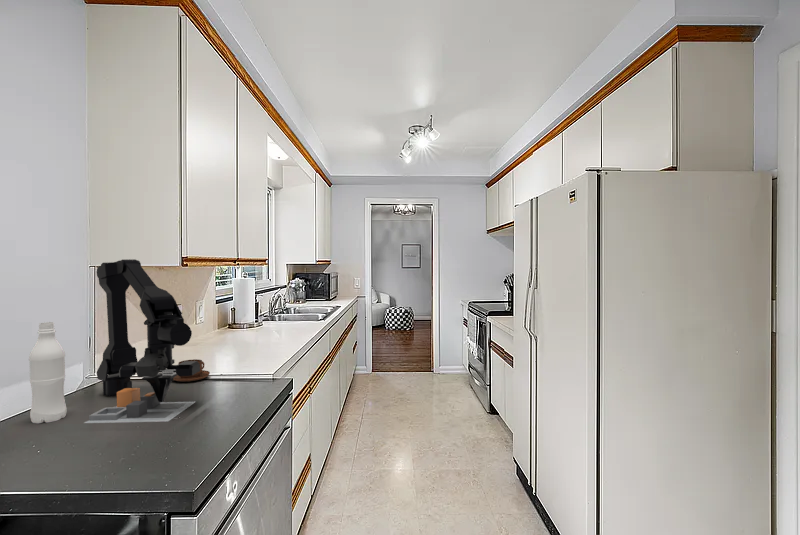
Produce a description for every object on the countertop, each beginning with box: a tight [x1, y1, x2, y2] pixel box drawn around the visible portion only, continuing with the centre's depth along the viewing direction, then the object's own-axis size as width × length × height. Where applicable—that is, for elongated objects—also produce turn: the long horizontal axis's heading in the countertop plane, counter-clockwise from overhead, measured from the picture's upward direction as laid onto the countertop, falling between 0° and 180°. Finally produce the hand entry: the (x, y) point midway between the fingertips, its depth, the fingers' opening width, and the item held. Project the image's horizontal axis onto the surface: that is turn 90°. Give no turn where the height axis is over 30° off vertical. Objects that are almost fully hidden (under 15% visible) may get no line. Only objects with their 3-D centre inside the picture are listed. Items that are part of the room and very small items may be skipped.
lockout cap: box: [116, 387, 141, 407], centre depth 127 cm, size 4×4×4 cm
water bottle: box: [28, 321, 68, 424], centre depth 117 cm, size 7×7×25 cm
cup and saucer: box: [172, 358, 211, 383], centre depth 161 cm, size 12×12×6 cm
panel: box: [84, 400, 196, 424], centre depth 121 cm, size 20×16×5 cm
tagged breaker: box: [140, 391, 160, 408], centre depth 125 cm, size 3×4×3 cm
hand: (161, 401), depth 125 cm, fingers closed
